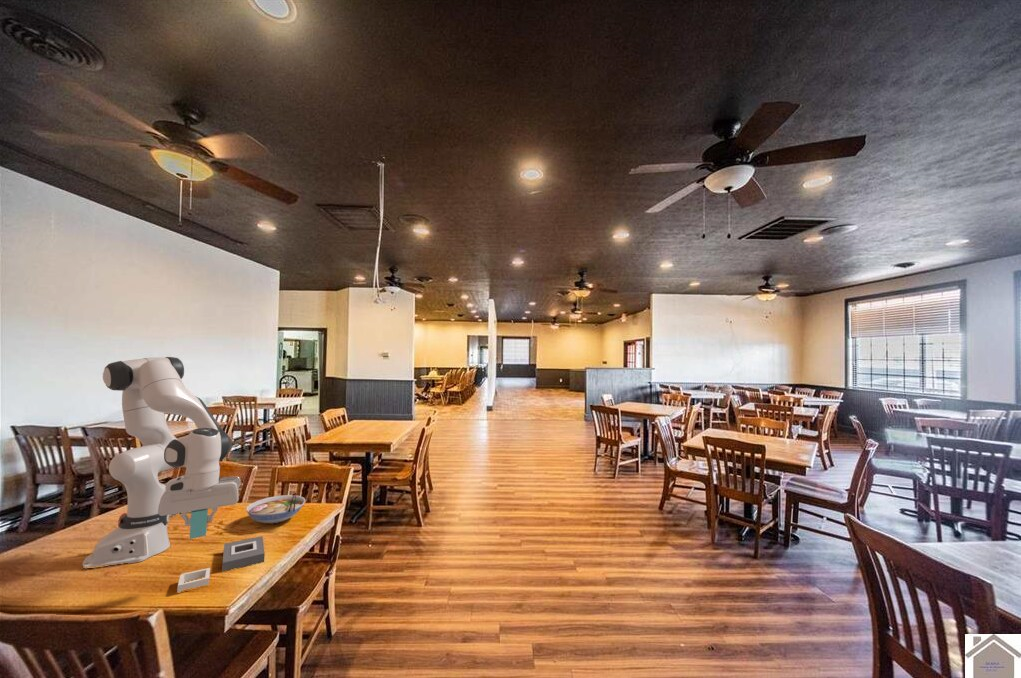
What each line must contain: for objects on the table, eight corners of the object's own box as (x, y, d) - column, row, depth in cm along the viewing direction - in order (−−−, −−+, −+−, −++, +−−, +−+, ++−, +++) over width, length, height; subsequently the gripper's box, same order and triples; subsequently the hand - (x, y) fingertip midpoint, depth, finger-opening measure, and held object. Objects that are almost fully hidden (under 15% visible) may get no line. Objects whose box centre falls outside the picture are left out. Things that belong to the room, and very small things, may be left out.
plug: (189, 538, 120) (191, 513, 120) (190, 534, 123) (192, 508, 124) (205, 535, 122) (207, 510, 123) (206, 530, 125) (208, 506, 126)
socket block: (222, 571, 129) (222, 561, 129) (223, 552, 142) (224, 542, 142) (264, 562, 136) (264, 552, 136) (262, 543, 149) (262, 535, 149)
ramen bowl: (250, 514, 177) (251, 496, 177) (306, 507, 186) (307, 490, 187) (238, 536, 154) (240, 516, 155) (302, 527, 164) (303, 508, 164)
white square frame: (177, 594, 116) (177, 585, 117) (180, 582, 122) (180, 574, 123) (208, 586, 121) (208, 578, 121) (209, 575, 127) (210, 567, 127)
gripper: (241, 472, 132) (238, 513, 131) (162, 481, 120) (158, 526, 120) (241, 477, 127) (238, 519, 126) (158, 487, 115) (154, 534, 115)
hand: (198, 523), depth 123 cm, fingers closed on plug, 4 cm apart
